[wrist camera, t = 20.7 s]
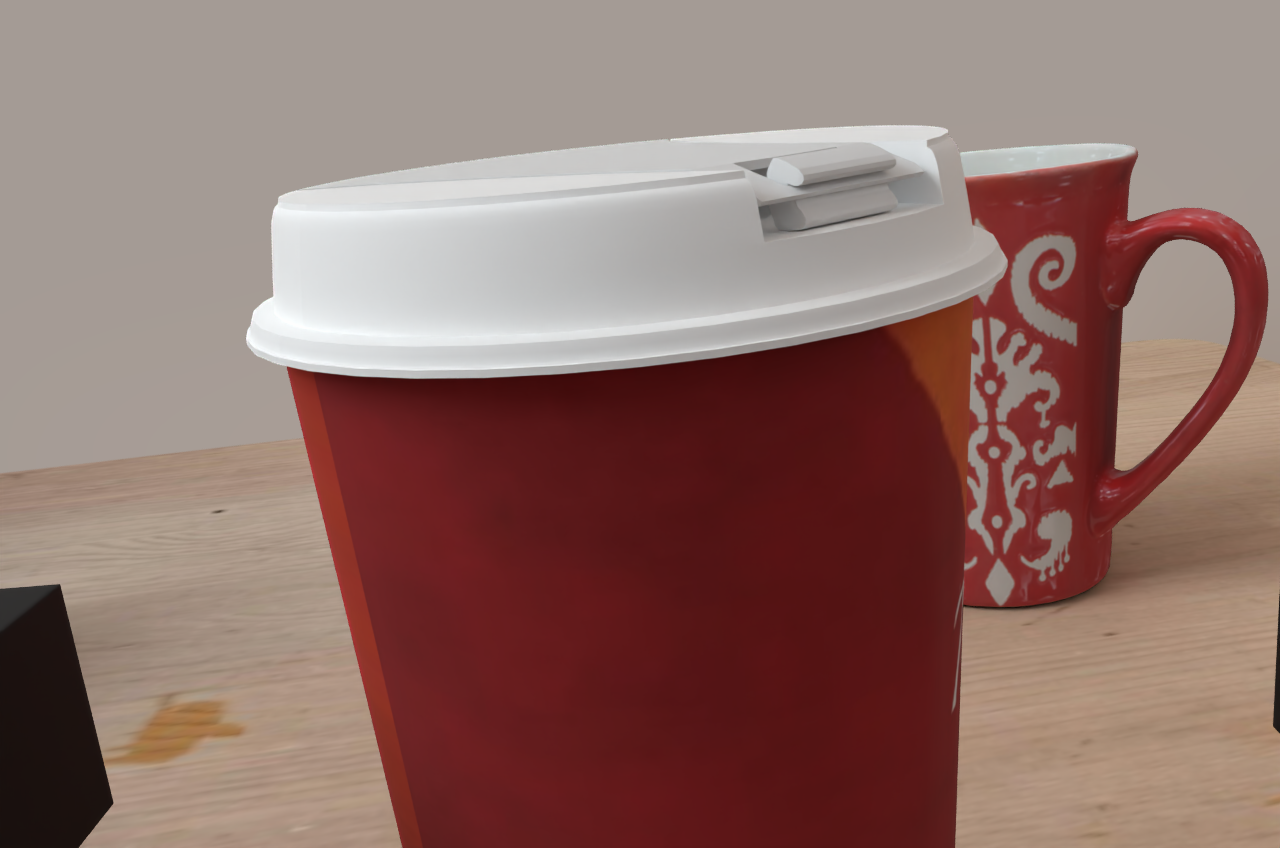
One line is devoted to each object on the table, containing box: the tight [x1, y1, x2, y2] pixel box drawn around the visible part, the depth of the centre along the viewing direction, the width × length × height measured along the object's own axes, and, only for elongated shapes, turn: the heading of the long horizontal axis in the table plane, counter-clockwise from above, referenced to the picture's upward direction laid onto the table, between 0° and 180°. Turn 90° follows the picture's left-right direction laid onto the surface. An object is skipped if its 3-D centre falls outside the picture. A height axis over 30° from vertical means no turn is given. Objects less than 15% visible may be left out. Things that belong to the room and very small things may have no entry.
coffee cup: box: [246, 125, 1008, 848], centre depth 15 cm, size 8×8×15 cm
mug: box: [960, 143, 1268, 607], centre depth 38 cm, size 13×9×14 cm
